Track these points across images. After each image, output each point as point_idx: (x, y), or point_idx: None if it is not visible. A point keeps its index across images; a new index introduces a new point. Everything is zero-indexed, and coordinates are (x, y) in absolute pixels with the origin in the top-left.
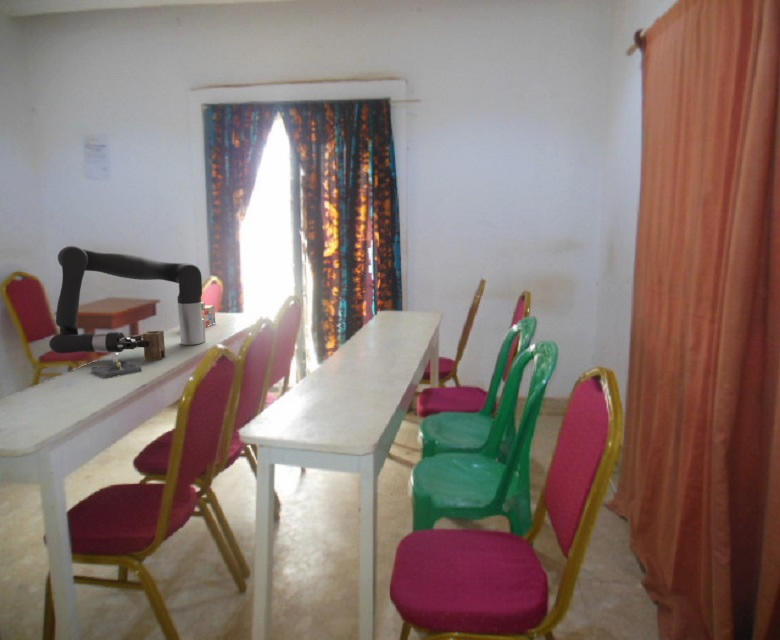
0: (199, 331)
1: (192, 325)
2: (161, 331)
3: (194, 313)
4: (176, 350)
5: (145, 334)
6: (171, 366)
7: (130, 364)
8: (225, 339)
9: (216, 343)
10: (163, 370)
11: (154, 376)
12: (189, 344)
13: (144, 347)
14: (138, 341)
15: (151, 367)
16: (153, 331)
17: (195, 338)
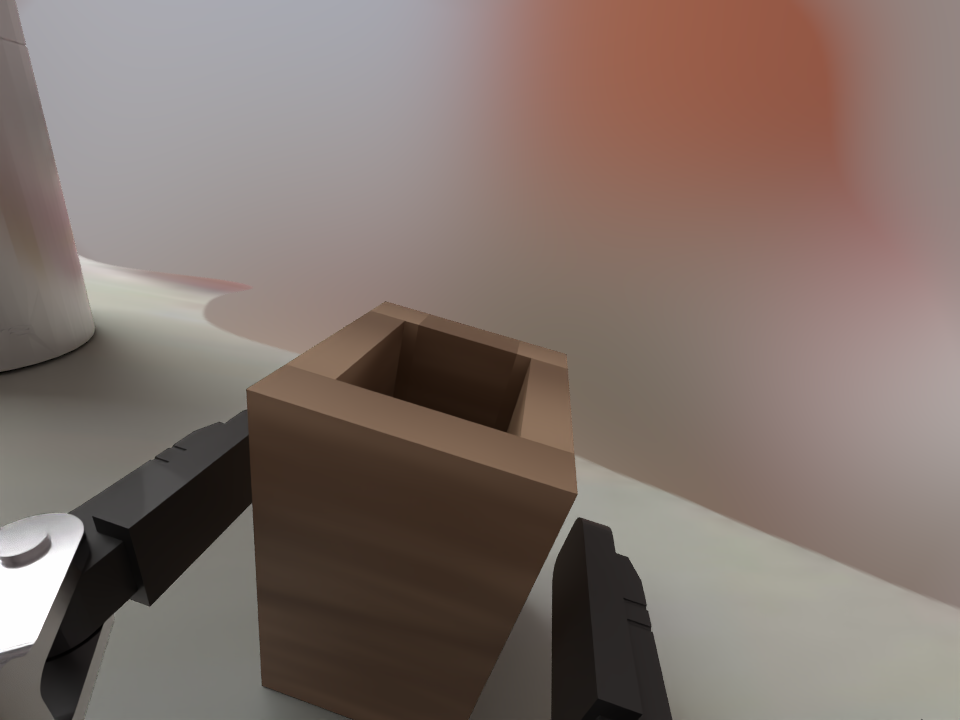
0: (74, 242)
1: (43, 196)
2: (426, 316)
3: (28, 77)
4: (161, 440)
5: (572, 462)
6: (664, 508)
7: None
8: (118, 268)
9: (180, 299)
10: (768, 553)
11: (921, 608)
12: (52, 356)
13: (496, 651)
14: (640, 691)
15: (732, 641)
16: (364, 354)
17: (79, 299)
